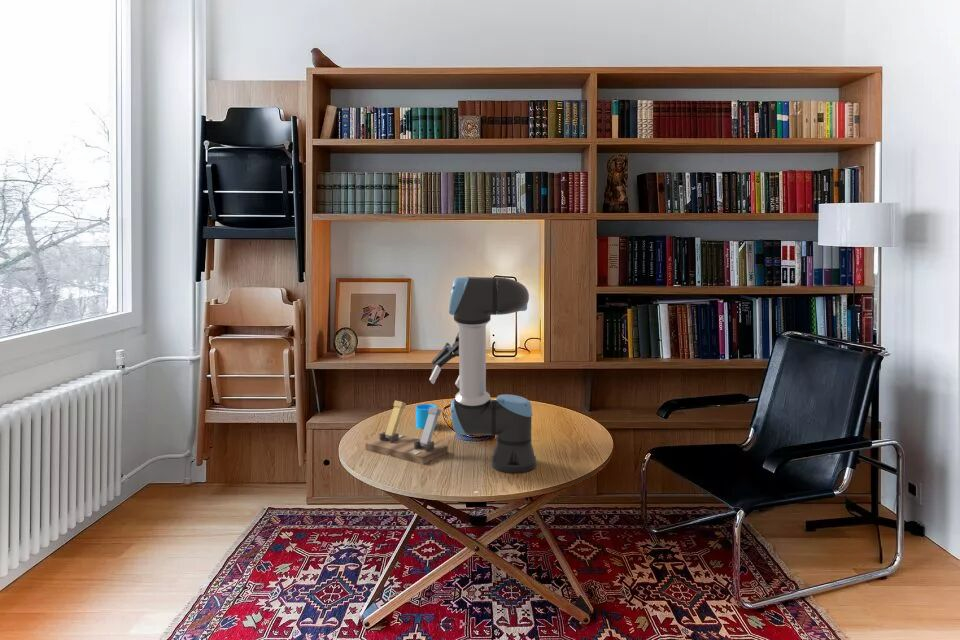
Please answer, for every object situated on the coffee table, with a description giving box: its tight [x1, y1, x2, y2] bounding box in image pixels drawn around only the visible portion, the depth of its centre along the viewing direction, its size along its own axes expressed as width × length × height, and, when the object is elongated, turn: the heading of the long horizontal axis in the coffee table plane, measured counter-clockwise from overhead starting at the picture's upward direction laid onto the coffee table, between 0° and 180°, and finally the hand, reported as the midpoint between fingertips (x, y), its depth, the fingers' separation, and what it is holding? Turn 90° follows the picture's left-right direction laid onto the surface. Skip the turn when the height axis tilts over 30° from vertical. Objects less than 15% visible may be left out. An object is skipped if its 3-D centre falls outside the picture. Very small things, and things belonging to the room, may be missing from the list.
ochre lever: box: [385, 400, 407, 439], centre depth 237 cm, size 4×2×14 cm, turn 57°
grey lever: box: [420, 407, 442, 447], centre depth 229 cm, size 4×2×14 cm, turn 57°
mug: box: [415, 403, 437, 430], centre depth 262 cm, size 12×8×8 cm
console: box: [365, 431, 449, 465], centre depth 231 cm, size 26×14×5 cm, turn 57°
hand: (444, 383), depth 234 cm, fingers open, 11 cm apart
